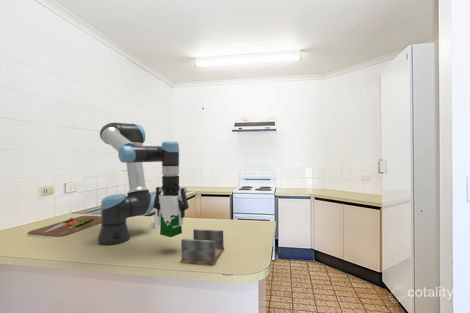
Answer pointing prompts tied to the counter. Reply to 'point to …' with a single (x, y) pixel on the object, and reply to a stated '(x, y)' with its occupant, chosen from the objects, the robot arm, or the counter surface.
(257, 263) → the counter surface
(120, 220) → the robot arm
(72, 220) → the chopping board
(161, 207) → the soya milk
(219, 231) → the carton caddy
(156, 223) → the grater
